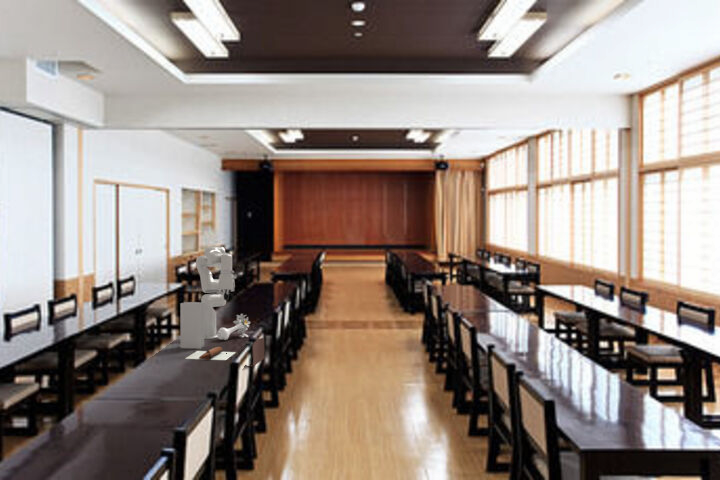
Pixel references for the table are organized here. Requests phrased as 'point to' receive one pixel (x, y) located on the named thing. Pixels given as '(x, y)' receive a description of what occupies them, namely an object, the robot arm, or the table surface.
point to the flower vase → (234, 328)
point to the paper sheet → (217, 357)
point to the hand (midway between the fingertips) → (226, 299)
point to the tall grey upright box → (192, 324)
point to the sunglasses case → (211, 353)
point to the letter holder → (256, 351)
